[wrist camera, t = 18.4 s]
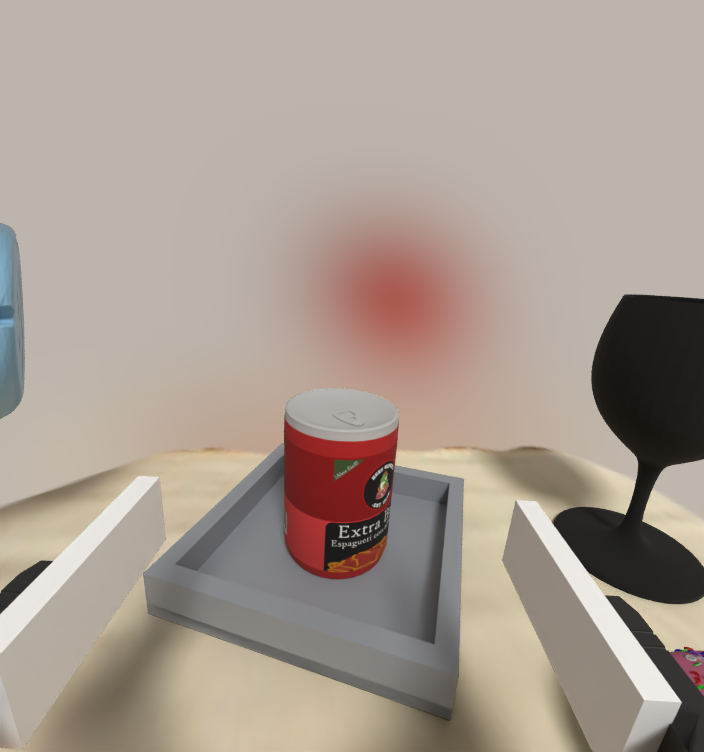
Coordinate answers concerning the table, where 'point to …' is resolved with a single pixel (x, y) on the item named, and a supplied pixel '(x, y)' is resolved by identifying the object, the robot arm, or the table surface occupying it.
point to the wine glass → (646, 443)
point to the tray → (328, 589)
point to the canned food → (338, 479)
